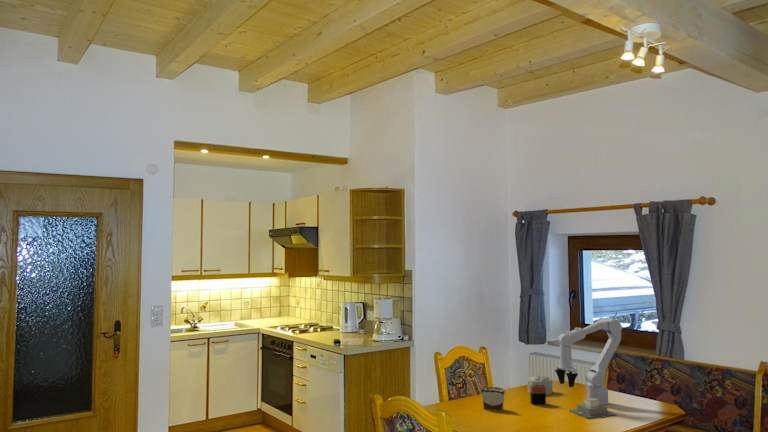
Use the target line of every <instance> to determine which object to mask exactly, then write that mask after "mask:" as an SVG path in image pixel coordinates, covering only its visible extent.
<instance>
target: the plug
mask: <svg viewBox="0 0 768 432" xmlns="http://www.w3.org/2000/svg"><path fill="white" fill-rule="evenodd" d="M584 401H585V402H584V403H585V406H587V407H589V408H593V407H599V400H598V399H596V398H588V397H587V398H584Z"/></svg>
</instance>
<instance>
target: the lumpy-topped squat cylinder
mask: <svg viewBox="0 0 768 432" xmlns="http://www.w3.org/2000/svg"><path fill="white" fill-rule="evenodd" d="M526 380H527V393H529V394H530V385H533V384H536V385H539V383H542V384H543V385H544V386H545V388H546V395H547V396H548V395H551V394H553V390H554V389H553V379H552V378H550V377H548V376H547V375H541V376H540V375H538V374H536V375H534V376H530V377H528V378H527V379H526Z"/></svg>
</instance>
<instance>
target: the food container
mask: <svg viewBox="0 0 768 432" xmlns="http://www.w3.org/2000/svg"><path fill="white" fill-rule="evenodd" d="M480 394H481V398H482V407H483V410H488V411H497V412H503V411H504V404H505V403H504V400H505V394H506V390H505V389H504V388H503V387H500V386H499V387H498V386H485V387H481V389H480Z"/></svg>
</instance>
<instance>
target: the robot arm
mask: <svg viewBox="0 0 768 432" xmlns="http://www.w3.org/2000/svg"><path fill="white" fill-rule="evenodd" d="M599 330H602V331H605V332H606V334H607V336H608V339H607V341H606V343H605V345H604V347H603V349H602V351H601V353H600V354H599V357H598V358H597V360H596V362H595V364H594V365H593V366H591V368H590V369H589V370H588V371H587V372H586V373H585V376H584V377H585V378H584V379H585V381H586V382H587V384H586V385H587V398H596V399H598V400H599V404H601V405H603V406H606V405H610V403H609V390H608V388H607V386H606V385H604V383H605V378H606V370H607V368H608V366H609V363H610V362H611V360H612V359H613V356H614V355H615V352H616V350H617V349H618V347H619V345H620V344H621V343H620V342H622V330H623V326H622V324H621V322H620V321H619V320H618V319H616V318H615V319H614V318H610V317H604V318H602V319H601V318H600V319H599V320H597V321H596V322H594V323H592V324H589V325H588V326H586V327H584V328H581V327H574V329H572V330H570V331H566V332H565V333H561V334H560V335H559V336H558V338H557V343H558V344H559V364H558V363H557V364H555V373H556V375H557V378H558V382H559V384H560V385H564V384H565V382H566V381H565V377H567V380H568V382H567V383H568V387H569V388H574V386H575V382H576V379H577V377H578V370H577V368H574V367H573V359H572V355H573V354H572V346H573V344H574V343H577V342H578V341H581V340H583V339H585V338H586V335H589V334H591V333H594V332H597V331H599ZM583 402H584V403H585V400H584V401H583Z"/></svg>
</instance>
